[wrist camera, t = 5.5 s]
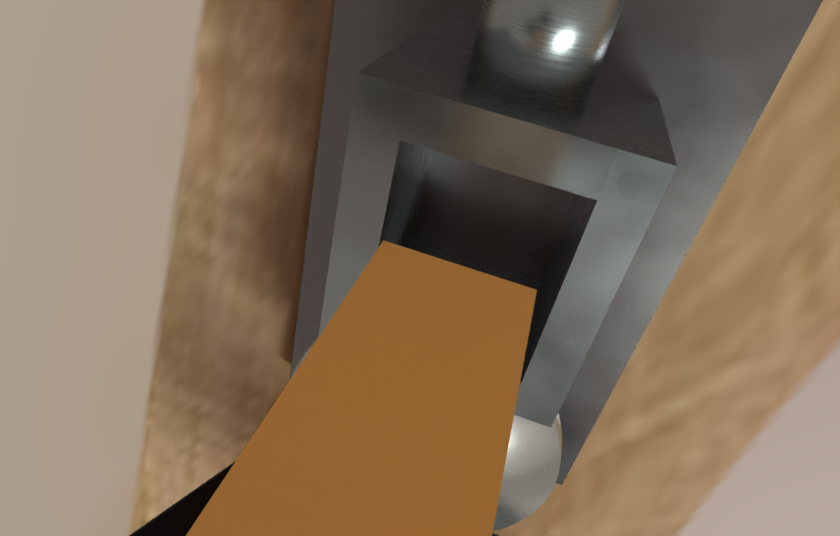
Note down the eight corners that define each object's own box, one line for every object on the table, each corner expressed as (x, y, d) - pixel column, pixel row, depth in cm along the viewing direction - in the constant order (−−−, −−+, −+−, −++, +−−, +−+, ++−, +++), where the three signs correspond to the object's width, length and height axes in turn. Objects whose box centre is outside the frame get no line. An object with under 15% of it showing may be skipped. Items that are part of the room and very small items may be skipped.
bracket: (819, -21, 15) (924, 16, 10) (558, 474, 26) (546, 611, 21) (364, -136, 16) (257, -155, 11) (297, 381, 27) (227, 489, 22)
